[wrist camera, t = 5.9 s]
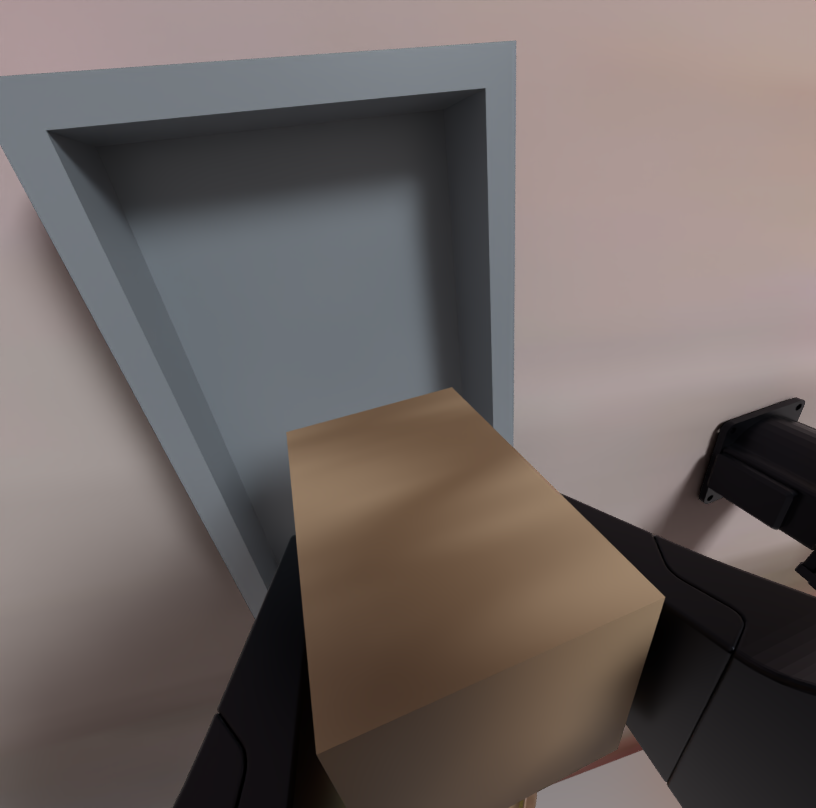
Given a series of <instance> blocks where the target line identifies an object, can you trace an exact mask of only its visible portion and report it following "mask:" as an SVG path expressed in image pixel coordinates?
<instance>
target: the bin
mask: <svg viewBox="0 0 816 808" xmlns="http://www.w3.org/2000/svg"><path fill="white" fill-rule="evenodd" d="M515 135H516V41H504V42H489V43H475V44H460V45H446V46H431V47H417V48H402V49H388V50H373V51H359V52H345V53H330V54H316V55H301V56H287V57H272V58H258V59H243V60H229V61H214V62H200V63H185V64H171V65H156V66H142V67H128V68H113V69H99V70H84V71H70V72H55V73H41V74H26V75H12V76H0V145H1V147H2V149H3V151H4V153H5V155H6V156H7V158H8V160H9V162H10V164H11V166H12V168H13V169H14V171H15V173H16V175H17V177H18V179H19V181H20V182H21V184H22V186H23V188H24V190H25V192H26V194H27V195H28V197H29V199H30V201H31V203H32V205H33V207H34V209H35V210H36V212H37V214H38V216H39V218H40V220H41V222H42V223H43V225H44V227H45V229H46V231H47V233H48V235H49V236H50V238H51V240H52V242H53V244H54V246H55V248H56V249H57V251H58V253H59V255H60V257H61V259H62V261H63V263H64V264H65V266H66V268H67V270H68V272H69V274H70V276H71V277H72V279H73V281H74V283H75V285H76V287H77V289H78V290H79V292H80V294H81V296H82V298H83V300H84V302H85V303H86V305H87V307H88V309H89V311H90V313H91V315H92V317H93V318H94V320H95V322H96V324H97V326H98V328H99V330H100V331H101V333H102V335H103V337H104V339H105V341H106V343H107V344H108V346H109V348H110V350H111V352H112V354H113V356H114V358H115V359H116V361H117V363H118V365H119V367H120V369H121V371H122V372H123V374H124V376H125V378H126V380H127V382H128V384H129V385H130V387H131V389H132V391H133V393H134V395H135V397H136V398H137V400H138V402H139V404H140V406H141V408H142V410H143V412H144V413H145V415H146V417H147V419H148V421H149V423H150V425H151V426H152V428H153V430H154V432H155V434H156V436H157V438H158V439H159V441H160V443H161V445H162V447H163V449H164V451H165V452H166V454H167V456H168V458H169V460H170V462H171V464H172V466H173V467H174V469H175V471H176V473H177V475H178V477H179V479H180V480H181V482H182V484H183V486H184V488H185V490H186V492H187V493H188V495H189V497H190V499H191V501H192V503H193V505H194V507H195V508H196V510H197V512H198V514H199V516H200V518H201V520H202V521H203V523H204V525H205V527H206V529H207V531H208V533H209V534H210V536H211V538H212V540H213V542H214V544H215V546H216V547H217V549H218V551H219V553H220V555H221V557H222V559H223V561H224V562H225V564H226V566H227V568H228V570H229V572H230V574H231V575H232V577H233V579H234V581H235V583H236V585H237V587H238V588H239V590H240V592H241V594H242V596H243V598H244V600H245V601H246V603H247V605H248V607H249V609H250V611H251V613H252V615H253V616H254V618H255V619H256V617H257V615H258V612H259V610H260V608H261V605H262V603H263V601H264V598H265V596H266V594H267V591H268V589H269V586H270V584H271V582H272V579H273V577H274V575H275V572H276V570H277V568H278V565H279V563H280V561H281V558H282V556H283V554H284V551H285V549H286V546H287V544H288V542H289V539H290V537H291V536H292V535H294V534H296V531H295V520H294V510H293V499H292V488H291V478H290V467H289V456H288V445H287V435H286V432H289V431H292V430H296V429H300V428H303V427H307V426H311V425H314V424H318V423H322V422H325V421H329V420H333V419H336V418H340V417H344V416H348V415H351V414H355V413H359V412H362V411H366V410H370V409H373V408H377V407H381V406H384V405H388V404H392V403H395V402H399V401H403V400H407V399H410V398H414V397H418V396H421V395H425V394H429V393H432V392H436V391H440V390H443V389H447V388H451V387H452V388H453V389H454V390H455V391H456V392H457V393H458V394H459V395H460V396H461V397H462V398H463V399H464V400H466V401H467V402H468V403H469V404H470V405H471V406H472V407H473V408H474V409H475V410H476V411H477V412H478V413H479V414H480V415H481V416H482V417H483V418H484V419H485V420H486V421H487V422H488V423H489V424H490V425H491V426H492V427H493V428H494V429H495V430H496V431H497V432H498V433H499V434H500V435H501V436H502V437H503V438H504V439H505V440H506V441H507V442H508V443H509V444H510V445H511V446H512V447H513V417H514V276H515Z"/></svg>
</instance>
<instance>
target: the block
mask: <svg viewBox="0 0 816 808" xmlns="http://www.w3.org/2000/svg"><path fill="white" fill-rule="evenodd" d="M286 435H287V445H288V456H289V467H290V478H291V488H292V499H293V510H294V520H295V531H296V542H297V553H298V563H299V574H300V585H301V596H302V606H303V617H304V628H305V638H306V649H307V660H308V671H309V681H310V692H311V703H312V713H313V724H314V735H315V746H316V755H317V757H318V759H319V760H320V762H321V764H322V766H323V767H324V769H325V771H326V773H327V774H328V776H329V778H330V780H331V782H332V783H333V785H334V787H335V789H336V790H337V792H338V794H339V796H340V797H341V799H342V801H343V803H344V804H345V806H346V808H509V807H511V806H512V805H514V804H516V803H518V802H520V801H522V800H524V799H525V798H527V797H529V796H531V795H533V794H535V793H537V792H538V791H540V790H542V789H544V788H546V787H548V786H550V785H552V784H553V783H555V782H557V781H559V780H561V779H563V778H565V777H566V776H568V775H570V774H572V773H574V772H576V771H578V770H579V769H581V768H583V767H585V766H587V765H589V764H591V763H592V762H594V761H596V760H598V759H600V758H602V757H604V756H606V755H607V754H609V753H611V752H613V751H615V750H617V749H618V746H619V743H620V740H621V737H622V734H623V730H624V727H625V724H626V721H627V718H628V714H629V711H630V708H631V705H632V702H633V699H634V695H635V692H636V689H637V686H638V683H639V679H640V676H641V673H642V670H643V667H644V664H645V660H646V657H647V654H648V651H649V648H650V644H651V641H652V638H653V635H654V632H655V629H656V625H657V622H658V619H659V616H660V613H661V609H662V606H663V603H664V600H665V596H664V595H663V594H662V593H661V592H660V591H659V590H658V589H657V588H656V587H655V586H654V585H653V584H652V583H651V582H650V581H648V580H647V579H646V578H645V577H644V576H643V575H642V574H641V573H640V572H639V571H638V570H637V569H636V568H635V567H634V566H633V565H632V564H631V563H630V562H629V561H628V560H627V559H626V558H625V557H624V556H623V555H622V554H621V553H620V552H619V551H618V550H617V549H616V548H615V547H614V546H613V545H612V544H611V543H610V542H609V541H608V540H607V539H606V538H605V537H604V536H603V535H602V534H601V533H600V532H599V531H598V530H597V529H596V528H595V527H594V526H593V525H592V524H591V523H590V522H589V521H587V520H586V519H585V518H584V517H583V516H582V515H581V514H580V513H579V512H578V511H577V510H576V509H575V508H574V507H573V506H572V505H571V504H570V503H569V502H568V501H567V500H566V499H565V498H564V497H563V496H562V495H561V494H560V493H559V492H558V491H557V490H556V489H555V488H554V487H553V486H552V485H551V484H550V483H549V482H548V481H547V480H546V479H545V478H544V477H543V476H542V475H541V474H540V473H539V472H538V471H537V470H536V469H535V468H534V467H533V466H532V465H531V464H530V463H529V462H528V461H526V460H525V459H524V458H523V457H522V456H521V455H520V454H519V453H518V452H517V451H516V450H515V449H514V448H513V447H512V446H511V445H510V444H509V443H508V442H507V441H506V440H505V439H504V438H503V437H502V436H501V435H500V434H499V433H498V432H497V431H496V430H495V429H494V428H493V427H492V426H491V425H490V424H489V423H488V422H487V421H486V420H485V419H484V418H483V417H482V416H481V415H480V414H479V413H478V412H477V411H476V410H475V409H474V408H473V407H472V406H471V405H470V404H469V403H468V402H467V401H466V400H464V399H463V398H462V397H461V396H460V395H459V394H458V393H457V392H456V391H455V390H454V389H453V388H452V387H451V388H447V389H443V390H440V391H436V392H432V393H429V394H425V395H421V396H418V397H414V398H410V399H407V400H403V401H399V402H395V403H392V404H388V405H384V406H381V407H377V408H373V409H370V410H366V411H362V412H359V413H355V414H351V415H348V416H344V417H340V418H336V419H333V420H329V421H325V422H322V423H318V424H314V425H311V426H307V427H303V428H300V429H296V430H292V431H289V432H286Z"/></svg>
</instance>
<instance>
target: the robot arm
mask: <svg viewBox="0 0 816 808" xmlns="http://www.w3.org/2000/svg"><path fill="white" fill-rule="evenodd" d="M804 405H805V401H804V400H802V399H799V398H792V399H789V400H786V401H784V402H781V403H778V404H775V405H772V406H769V407H766V408H764V409H761V410H758V411H755V412H752V413H749V414H746V415H744V416H741V417H738V418H735V419H732V420H729V421H727V422H726V423H725V424H723V426H722V427H721V429H720V432H719V435H718V438H717V441H716V444H715V448H714V451H713V454H712V457H711V460H710V463H709V466H708V470H707V473H706V476H705V479H704V482H703V485H702V488H701V491H700V495H699V500H701V501H702V502H703V503H705V504H708V503H711V502H713V501H715V500H718V499H720V498H723V497H724V498H725V499H727V500H728V501H730V502H732V503H733V504H735V505H736V506H738V507H739V508H741V509H742V510H744V511H746V512H747V513H749V514H750V515H752V516H753V517H755V518H756V519H758V520H760V521H761V522H763V523H764V524H766V525H767V526H769V527H771V528H772V529H775V530H778V529H779V530H781V531H782V532H784V533H785V534H787V535H789V536H790V537H792V538H793V539H795V540H797V541H798V542H800V543H801V544H803V545H804V546H806V547H808V548H809V549H811V550H814V551H813V552H812V553H811V554H810V556H809V557H808V558H807V559H806V560H805V561H804V562H801V563H800V564H799V565H798V566H797V567H796V568H795V571H796V572H797V573H799V574H800V575H801V576H802V577H803V578H805V579H806V580H807V581H808V584H809V585H810V586H812V587H813V588H814V589H815V590H816V429H815V428H812V427H810V426H807V425H805V424H802V423H800V422H797V421H798V419H799V417H800V414H801V412H802V410H803V407H804ZM560 494H561V493H560ZM561 495H562V496H563V497H564V498H565V499H566V500H567V501H568V502H569V503H570V504H571V505H572V506H573V507H574V508H575V509H576V510H577V511H578V512H579V513H580V514H581V515H582V516H583V517H584V518H585V519H586V520H587V521H589V522H590V523H591V524H592V525H593V526H594V527H595V528H596V529H597V530H598V531H599V532H600V533H601V534H602V535H603V536H604V537H605V538H606V539H607V540H608V541H609V542H610V543H611V544H612V545H613V546H614V547H615V548H616V549H617V550H618V551H619V552H620V553H621V554H622V555H623V556H624V557H625V558H626V559H627V560H628V561H629V562H630V563H631V564H632V565H633V566H634V567H635V568H636V569H637V570H638V571H639V572H640V573H641V574H642V575H643V576H644V577H645V578H646V579H647V580H648V581H650V582H651V583H652V584H653V585H654V586H655V587H656V588H657V589H658V590H659V591H660V592H661V593H662V594H663V595H664V596H665V600H664V603H663V606H662V609H661V613H660V616H659V619H658V622H657V625H656V629H655V632H654V635H653V638H652V641H651V644H650V648H649V651H648V654H647V657H646V660H645V664H644V667H643V670H642V673H641V676H640V679H639V683H638V686H637V689H636V692H635V695H634V699H633V702H632V705H631V708H630V711H629V714H628V718H627V721H626V725H627V726H628V728H629V729H630V731H631V732H632V734H633V735H634V737H635V738H636V740H637V741H638V743H639V744H640V746H641V747H642V748H643V750H644V751H645V753H646V754H647V756H648V757H649V759H650V760H651V762H652V763H653V765H654V766H655V768H656V769H657V771H658V772H659V773H660V775H661V776H662V778H663V779H664V781H665V782H667V785H668V787H669V789H670V790H671V792H672V793H673V795H674V796H675V797H676V798H677V800H678V802H679V803H680V805H681V806H682V808H816V597H815V596H812V595H809V594H807V593H804V592H801V591H798V590H796V589H793V588H790V587H787V586H785V585H782V584H779V583H776V582H774V581H771V580H768V579H765V578H762V577H760V576H757V575H754V574H751V573H749V572H746V571H743V570H741V569H738V568H735V567H733V566H730V565H727V564H725V563H722V562H720V561H717V560H714V559H712V558H709V557H706V556H704V555H702V554H699V553H697V552H694V551H692V550H690V549H687V548H685V547H682V546H680V545H678V544H675V543H673V542H671V541H668V540H666V539H664V538H662V537H659V536H657V535H655V536H653V535H652V533H650V532H648V531H645V530H643V529H641V528H639V527H636V526H634V525H632V524H629V523H627V522H625V521H623V520H620V519H618V518H616V517H613V516H611V515H609V514H607V513H604V512H602V511H600V510H598V509H595V508H593V507H591V506H588V505H586V504H584V503H582V502H579V501H577V500H575V499H572V498H570V497H568V496H566V495H563V494H561ZM217 710H218V712H219V713H217V714H215V715H214V717H213V720H212V722H211V725H210V727H209V729H208V732H207V734H206V737H205V739H204V741H203V743H202V746H201V748H200V750H199V752H198V755H197V757H196V759H195V761H194V763H193V766H192V768H191V770H190V772H189V775H188V777H187V779H186V781H185V783H184V786H183V788H182V790H181V792H180V794H179V796H178V798H177V800H176V802H175V804H174V806H173V808H346V806H345V804H344V803H343V801H342V799H341V797H340V796H339V794H338V792H337V790H336V789H335V787H334V785H333V783H332V782H331V780H330V778H329V776H328V774H327V773H326V771H325V769H324V767H323V766H322V764H321V762H320V760H319V759H318V757H317V755H316V746H315V735H314V724H313V713H312V703H311V692H310V681H309V671H308V660H307V649H306V638H305V628H304V617H303V606H302V596H301V585H300V574H299V563H298V553H297V542H296V534H294V535H292V536H291V537H290V539H289V542H288V544H287V546H286V549H285V551H284V554H283V556H282V558H281V561H280V563H279V565H278V568H277V570H276V572H275V575H274V577H273V579H272V582H271V584H270V586H269V589H268V591H267V594H266V596H265V598H264V601H263V603H262V605H261V608H260V610H259V612H258V615H257V617H256V619H255V622H254V624H253V626H252V629H251V631H250V633H249V636H248V638H247V641H246V643H245V645H244V648H243V650H242V652H241V655H240V657H239V659H238V662H237V664H236V666H235V669H234V671H233V673H232V676H231V678H230V680H229V683H228V685H227V688H226V690H225V692H224V695H223V697H222V699H221V702H220V704H219V706H218V709H217Z"/></svg>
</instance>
